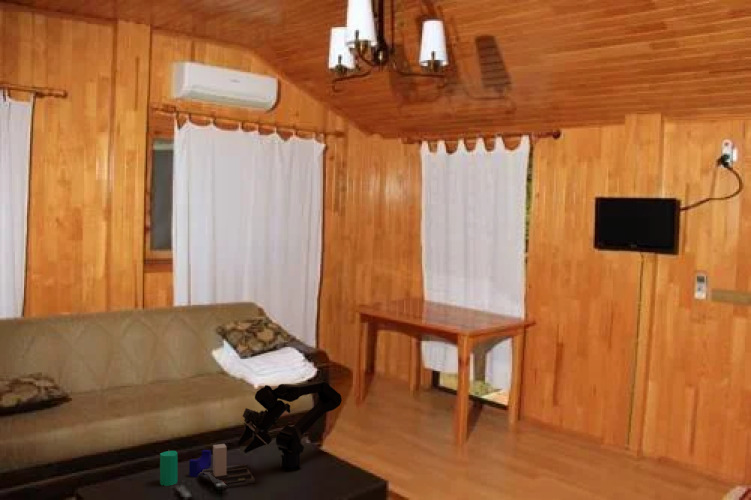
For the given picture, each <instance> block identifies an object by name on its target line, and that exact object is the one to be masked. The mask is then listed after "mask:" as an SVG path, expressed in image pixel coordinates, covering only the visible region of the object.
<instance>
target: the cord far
mask: <svg viewBox="0 0 751 500" xmlns="http://www.w3.org/2000/svg"><path fill="white" fill-rule="evenodd" d="M246 467H247V469H248V470H249V464H245V463H243V464H235V465H229V466H227V465H226V470H232V469H239V468H246ZM202 471H203V472H213V467H211V468H207V469H204V470H202Z"/></svg>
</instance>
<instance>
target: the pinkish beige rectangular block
mask: <svg viewBox="0 0 751 500" xmlns="http://www.w3.org/2000/svg"><path fill="white" fill-rule="evenodd" d="M227 458H228V457H227V445H226V444H225V443H220V444H212V468H213V473H211V475H212V476H213V477H215V478H221V477H228V474H227V473H226V467H227V463H228V462H227Z"/></svg>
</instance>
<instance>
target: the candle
mask: <svg viewBox="0 0 751 500" xmlns="http://www.w3.org/2000/svg"><path fill="white" fill-rule="evenodd" d="M178 459H179V458H178V452H177V451H176V450H168V451H167V450H166V451H163V452H161V453H159V484H160V485H161V486H163V485H164V486H165V487H169V486H170V485H171V486H173V485H174V484H175V485H176V484H178V475H179V474H178V473H179V471H178V469H179V468H178V462H179V461H178Z"/></svg>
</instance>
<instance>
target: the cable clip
mask: <svg viewBox="0 0 751 500" xmlns="http://www.w3.org/2000/svg"><path fill="white" fill-rule="evenodd" d="M188 463H189V466H188V467H189V468H188V471H189V474H188V475H189V476H188V477H192V478H198V477H199V476H198V474H199V473H200V472H202V470H204V469H210V467H211V466H212V449H211V450H210V449H203V450H201V456H200V457H199V458H197V459H189V462H188ZM197 476H198V477H197Z"/></svg>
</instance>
